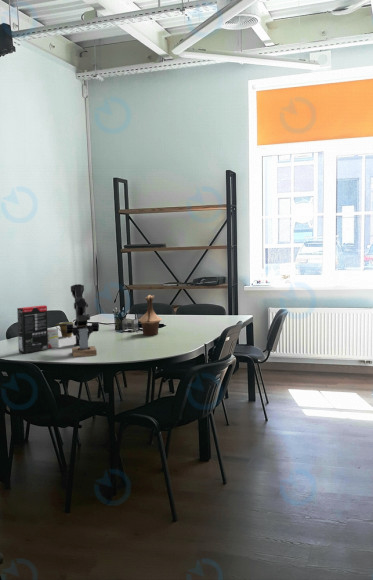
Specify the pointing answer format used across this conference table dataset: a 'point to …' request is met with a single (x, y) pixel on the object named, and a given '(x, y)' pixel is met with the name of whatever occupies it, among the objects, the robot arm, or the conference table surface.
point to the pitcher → (150, 319)
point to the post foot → (84, 351)
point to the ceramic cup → (64, 329)
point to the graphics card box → (32, 329)
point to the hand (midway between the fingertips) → (83, 339)
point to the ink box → (53, 337)
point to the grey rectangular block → (83, 338)
